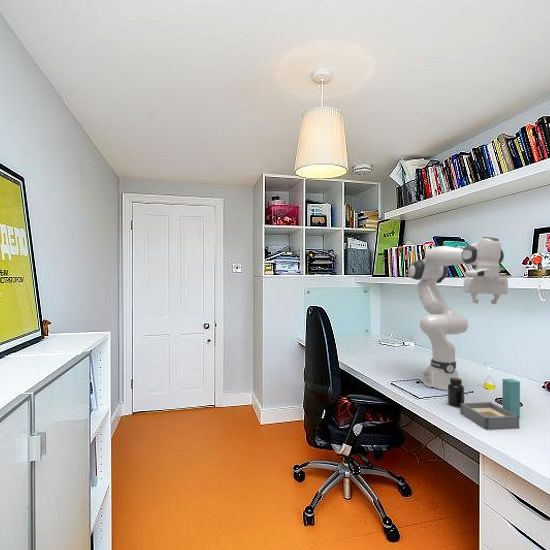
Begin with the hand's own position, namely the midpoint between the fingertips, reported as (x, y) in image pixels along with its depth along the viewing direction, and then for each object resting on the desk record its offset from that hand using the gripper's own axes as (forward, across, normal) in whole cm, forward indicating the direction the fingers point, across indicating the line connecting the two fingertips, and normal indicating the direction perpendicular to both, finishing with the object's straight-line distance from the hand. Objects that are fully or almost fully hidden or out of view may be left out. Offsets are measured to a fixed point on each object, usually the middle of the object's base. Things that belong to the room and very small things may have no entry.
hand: (484, 303), depth 160 cm
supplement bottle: (+48, +8, -3) cm, 49 cm away
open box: (+47, +6, +15) cm, 49 cm away
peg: (+46, -8, +12) cm, 48 cm away
